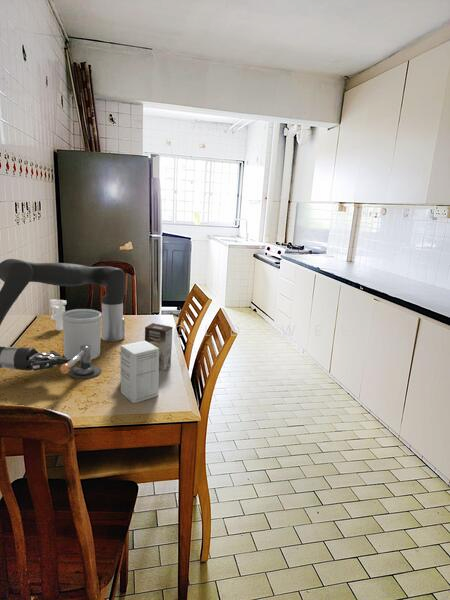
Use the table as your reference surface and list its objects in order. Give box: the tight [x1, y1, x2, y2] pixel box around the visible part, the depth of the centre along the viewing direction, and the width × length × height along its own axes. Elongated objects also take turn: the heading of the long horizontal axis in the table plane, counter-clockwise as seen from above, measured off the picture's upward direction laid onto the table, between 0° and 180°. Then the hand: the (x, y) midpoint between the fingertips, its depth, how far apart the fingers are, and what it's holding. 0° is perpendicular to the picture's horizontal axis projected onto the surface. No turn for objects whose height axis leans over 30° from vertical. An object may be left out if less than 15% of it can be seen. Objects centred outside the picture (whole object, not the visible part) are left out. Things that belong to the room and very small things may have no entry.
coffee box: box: [144, 322, 173, 371], centre depth 151 cm, size 9×6×16 cm
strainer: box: [49, 298, 67, 332], centre depth 186 cm, size 7×7×15 cm
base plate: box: [69, 365, 102, 380], centre depth 142 cm, size 11×11×1 cm
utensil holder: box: [62, 308, 102, 362], centre depth 156 cm, size 15×15×18 cm
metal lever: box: [59, 345, 96, 376], centre depth 133 cm, size 20×7×9 cm, turn 177°
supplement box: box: [119, 340, 160, 404], centre depth 127 cm, size 10×9×17 cm
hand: (69, 362), depth 130 cm, fingers closed
